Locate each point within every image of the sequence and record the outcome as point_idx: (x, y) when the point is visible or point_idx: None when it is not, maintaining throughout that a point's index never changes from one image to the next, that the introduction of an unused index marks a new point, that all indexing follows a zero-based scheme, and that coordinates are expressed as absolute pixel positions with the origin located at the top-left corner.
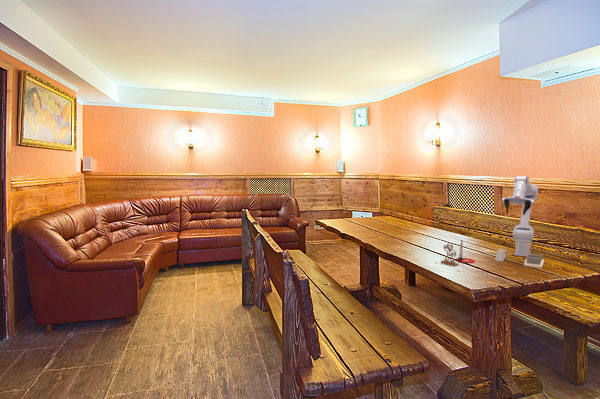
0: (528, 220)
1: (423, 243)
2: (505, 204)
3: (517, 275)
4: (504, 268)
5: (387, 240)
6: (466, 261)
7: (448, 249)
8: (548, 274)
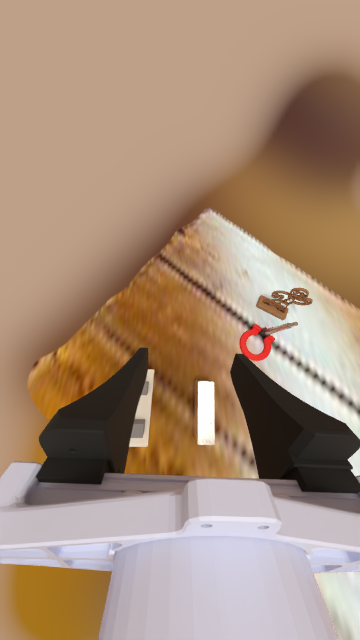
0: None
1: None
2: (287, 391)
3: (163, 293)
4: (185, 327)
5: None
6: (252, 329)
7: (295, 297)
8: (115, 326)
